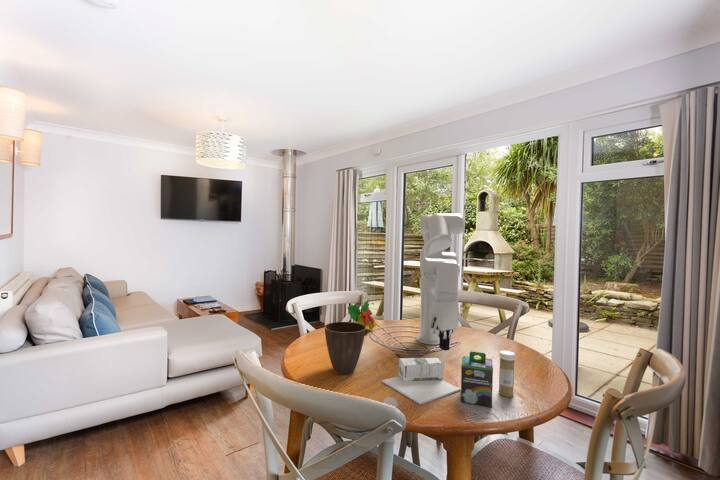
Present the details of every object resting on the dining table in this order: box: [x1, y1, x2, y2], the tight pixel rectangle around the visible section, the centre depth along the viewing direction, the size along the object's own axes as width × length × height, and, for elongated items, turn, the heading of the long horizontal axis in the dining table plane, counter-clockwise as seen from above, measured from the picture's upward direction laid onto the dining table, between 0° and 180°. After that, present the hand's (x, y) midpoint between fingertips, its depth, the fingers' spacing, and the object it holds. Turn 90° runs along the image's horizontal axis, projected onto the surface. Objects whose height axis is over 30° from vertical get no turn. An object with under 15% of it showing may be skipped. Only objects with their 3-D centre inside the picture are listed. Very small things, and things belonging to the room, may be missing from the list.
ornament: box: [347, 299, 378, 332], centre depth 176 cm, size 21×8×15 cm, turn 149°
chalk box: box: [460, 351, 494, 408], centre depth 107 cm, size 9×9×15 cm
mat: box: [381, 375, 461, 406], centre depth 115 cm, size 18×18×1 cm
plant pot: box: [324, 321, 366, 375], centre depth 126 cm, size 15×15×16 cm
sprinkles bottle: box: [497, 350, 516, 398], centre depth 111 cm, size 5×5×13 cm
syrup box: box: [397, 356, 445, 381], centre depth 121 cm, size 6×6×14 cm
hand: (444, 349), depth 121 cm, fingers closed
